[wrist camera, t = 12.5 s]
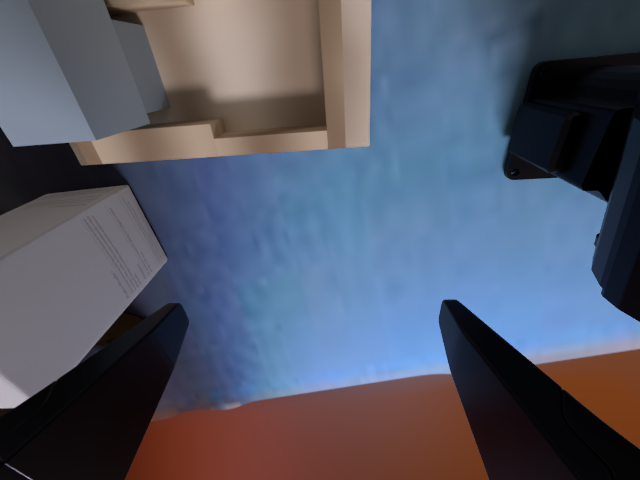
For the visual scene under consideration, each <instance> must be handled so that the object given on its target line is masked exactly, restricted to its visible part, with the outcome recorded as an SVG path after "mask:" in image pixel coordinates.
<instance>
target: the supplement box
mask: <svg viewBox="0 0 640 480" xmlns="http://www.w3.org/2000/svg"><path fill="white" fill-rule="evenodd" d="M167 260H168V259H167V257H166V255H165V253H164V251H163V249H162V248H161V246H160V244H159V242H158V240H157V238H156V236H155V235H154V233H153V231H152V229H151V227H150V225H149V223H148V222H147V220H146V218H145V216H144V214H143V212H142V210H141V208H140V206H139V205H138V203H137V201H136V199H135V197H134V195H133V193H132V191H131V189H130V188H129V186H128V185H121V186H112V187H103V188H94V189H85V190H77V191H68V192H59V193H52V194H46V195H43V196H41V197H39V198H37V199H35V200H33V201H31V202H29V203H26V204H24V205H22V206H20V207H18V208H16V209H13V210H11V211H9V212H7V213H5V214H2V215H0V408H15V407H17V406H18V405H20V404H21V403H23V402H24V401H26V400H27V399H29V398H30V397H32V396H33V395H35V394H36V393H38V392H39V391H41V390H42V389H44V388H45V387H46V386H48V385H49V384H51V383H52V382H54V381H57V379H58V378H60V377H61V376H63V375H64V374H66V373H67V372H68V371H70V370H71V369H73V368H74V367H76V366H77V365H78V364H79V362H80V361H81V360H82V359H83V358H84V357H85V355H86V354H87V353H88V352H89V351H90V350H91V348H92V347H93V346H94V345H95V344H96V343H97V341H98V340H99V339H100V338H101V337H102V336H103V335H104V333H105V332H106V331H107V330H108V329H109V328H110V327H111V325H112V324H113V323H114V322H115V321H116V320H117V318H118V317H119V316H120V315H121V314H122V313H123V312H124V310H125V309H126V308H127V307H128V306H129V305H130V303H131V302H132V301H133V300H134V299H135V298H136V296H137V295H138V294H139V293H140V292H141V291H142V290H143V288H144V287H145V286H146V285H147V284H148V283H149V281H150V280H151V279H152V278H153V276H154V275H155V274H156V273H157V272H158V271H159V269H160V268H161V267H162V266H163V265H164V264H165V262H166V261H167Z"/></svg>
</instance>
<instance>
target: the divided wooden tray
mask: <svg viewBox="0 0 640 480" xmlns="http://www.w3.org/2000/svg"><path fill="white" fill-rule="evenodd" d="M104 2H105V5H106V8H107V10H108V13H109V15H110V18H111V20H117V21H122V22H127V23H133V24H138V25H143V26H144V28H145V31H146V34H147V37H148V40H149V43H150V46H151V49H152V52H153V55H154V58H155V61H156V64H157V67H158V70H159V73H160V76H161V79H162V82H163V85H164V88H165V91H166V94H167V97H168V100H169V103H170V106H171V107H170V108H166V109H162V110H158V111H154V112H150V113H147V115H148V118H149V121H150V124H147V125H144V126H140V127H137V128H134V129H131V130H128V131H125V132H121V133H118V134H115V135H112V136H109V137H106V138H102V139H99V140H96V141H83V142H70V143H69V144H70V146H71V147H72V149H73V151H74V153H75V155H76V157H77V158H78V160H79V162H80V164H81V166H82V165H98V164H113V163H128V162H142V161H157V160H172V159H187V158H202V157H217V156H232V155H247V154H262V153H277V152H292V151H307V150H321V149H336V148H350V147H365V146H370V67H371V0H104Z"/></svg>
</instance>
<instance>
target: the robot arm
mask: <svg viewBox="0 0 640 480" xmlns="http://www.w3.org/2000/svg"><path fill="white" fill-rule="evenodd" d="M544 67H545V68H546V73H545V75H543V76H542V77H541V76H540V72H541V70H542V69H543V68H544ZM508 150H509V151H510V152H509V155H508V159H507V163H506V166H505V170H504V174H505V176H506V177H508V178H509V179H511V180H520V179H539V178H558V177H559V178H560V179H562V180H564V181H566V182H568V183H570V184H572V185H574V186H575V187H577V188H579V189H581V190H583V191H586V192H588V193H590V194H592V195H594V196H596V197H598V198H600V199H601V200H603V201H605V202H607V203H608V204H607V208H606V212H605V215H604V219H603V223H602V226H601V230H600V233H599V234H597V235H596V239H595V243H594V245H595V246H596V248H595V252H594V256H593V262H592V269H591V270H592V272H593V274H594V275H595V277H596V279H597V281H598V283H599V285H600V286H601V287H602V292H601V294H602V296H603V297H604V298H605V299H607V300H608V301H609V302H610V303H611V304H613V305H614V306H615V307H616V308H618V309H619V310H621V311H622V312H624V313H626V314H627V315H629V316H631V317H632V318H634V319H636V320H638V321H639V322H640V52H639V53H628V54H617V55H606V56H596V57H585V58H574V59H563V60H552V61H543V62H540V63H538V64H537V65H536V66H535V67H534V68H533V70H532V72H531V75H530V79H529V83H528V86H527V90H526V94H525V97H524V101H523V104H522V105H521V106H520V107H519V110H518V113H517V117H516V121H515V124H514V128H513V132H512V136H511V139H510V143H509V147H508ZM516 168H517V170H516V172H515V173H514V174H511V172H512V171H513V170H514V169H516ZM188 325H189V319H188V317H187V315H186V313H185V310H184V308H183V306H182V305H181V304H180V303H169V304H167V305H165V306H164V307H162V308H161V309H159V310H158V311H156V312H155V313H153V314H152V315H150V316H149V317H147V318H146V319H145V320H143V321H142V322H140V323H139V324H137V325H136V326H134V327H133V328H131V329H130V330H128V331H127V332H126V333H124V334H123V335H121V336H120V337H118V338H117V339H115V340H114V341H112V342H111V343H109V344H108V345H107V346H105V347H104V348H102V349H101V350H99V351H98V352H96V353H95V354H93V355H92V356H90V357H89V358H87V359H86V360H85V361H83V362H82V363H80V364H79V365H77V366H76V367H74V368H73V369H71V370H70V371H68V372H67V373H66V374H64V375H63V376H61V377H60V378H58V379H57V381H54V382H52V383H51V384H49V385H48V386H46V387H45V388H44V389H42V390H41V391H39V392H38V393H36V394H35V395H33V396H32V397H30V398H29V399H27V400H26V401H24V402H23V403H21V404H20V405H18V406H17V407H15V408H13V409H12V410H10V411H9V412H7V413H5V414H4V415H2V416H1V417H0V480H125V478H126V476H127V473H128V471H129V469H130V467H131V464H132V462H133V460H134V458H135V455H136V453H137V451H138V448H139V446H140V444H141V442H142V439H143V437H144V435H145V433H146V430H147V428H148V426H149V424H150V421H151V419H152V417H153V415H154V412H155V410H156V408H157V406H158V403H159V401H160V399H161V397H162V394H163V392H164V390H165V388H166V385H167V383H168V381H169V379H170V376H171V374H172V372H173V369H174V367H175V364H176V361H177V359H178V356H179V353H180V350H181V347H182V344H183V340H184V337H185V334H186V331H187V328H188ZM439 325H440V329H441V334H442V338H443V342H444V346H445V351H446V355H447V359H448V363H449V367H450V371H451V374H452V377H453V380H454V382H455V385H456V388H457V391H458V394H459V396H460V399H461V402H462V405H463V407H464V410H465V413H466V416H467V419H468V421H469V424H470V427H471V430H472V433H473V435H474V438H475V441H476V444H477V446H478V449H479V452H480V455H481V457H482V460H483V463H484V466H485V469H486V472H487V474H488V477H489V480H640V449H639V448H638V447H636V446H635V445H633V444H632V443H631V442H630V441H628V440H627V439H626V438H624V437H623V436H622V435H620V434H619V433H618V432H616V431H615V430H614V429H612V428H611V427H610V426H608V425H607V424H606V423H604V422H603V421H602V420H601V419H599V418H598V417H597V416H595V414H593V413H592V412H591V411H590V410H588V409H587V408H586V407H585V406H583V405H582V404H581V403H580V402H579V401H577V400H576V399H575V398H574V397H572V396H571V395H570V394H569V393H568V392H567V391H565V390H562V388H561V387H560V386H559V385H558V384H557V383H556V382H554V381H553V380H552V379H551V378H550V377H549V376H547V375H546V374H545V373H543V372H542V371H541V370H540V369H539V368H538V367H537V366H535V365H534V364H533V363H532V362H531V361H529V360H528V359H527V358H526V357H525V356H523V355H522V354H521V353H520V352H519V351H517V350H516V349H515V348H514V347H513V346H511V345H510V344H509V343H508V342H507V341H505V340H504V339H503V338H502V337H501V336H500V335H498V334H497V333H496V332H495V331H494V330H492V329H491V328H490V327H489V326H488V325H486V324H485V323H484V322H483V321H482V320H480V319H479V318H478V317H477V316H476V315H474V314H473V313H472V312H471V311H470V310H468V309H467V308H466V307H465V306H464V305H462V304H461V303H460V302H459V301H457V300H443V302H442V305H441V310H440V314H439Z"/></svg>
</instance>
